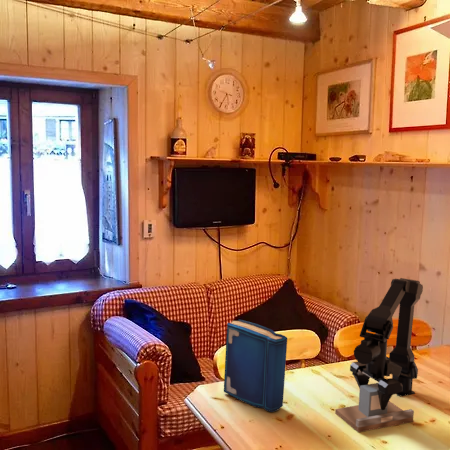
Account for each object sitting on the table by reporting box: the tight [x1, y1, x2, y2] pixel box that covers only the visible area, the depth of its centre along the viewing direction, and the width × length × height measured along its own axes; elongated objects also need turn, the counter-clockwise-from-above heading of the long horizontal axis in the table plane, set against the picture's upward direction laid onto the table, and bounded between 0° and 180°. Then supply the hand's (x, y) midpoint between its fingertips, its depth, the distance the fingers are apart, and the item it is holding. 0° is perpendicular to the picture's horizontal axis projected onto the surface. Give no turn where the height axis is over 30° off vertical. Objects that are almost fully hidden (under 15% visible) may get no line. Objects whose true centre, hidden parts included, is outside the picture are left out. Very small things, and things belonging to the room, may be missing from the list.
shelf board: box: [334, 400, 415, 433], centre depth 160 cm, size 20×12×4 cm, turn 111°
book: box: [223, 318, 288, 413], centre depth 168 cm, size 22×7×25 cm, turn 47°
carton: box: [358, 382, 388, 417], centre depth 160 cm, size 5×7×8 cm
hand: (373, 403), depth 160 cm, fingers open, 9 cm apart
